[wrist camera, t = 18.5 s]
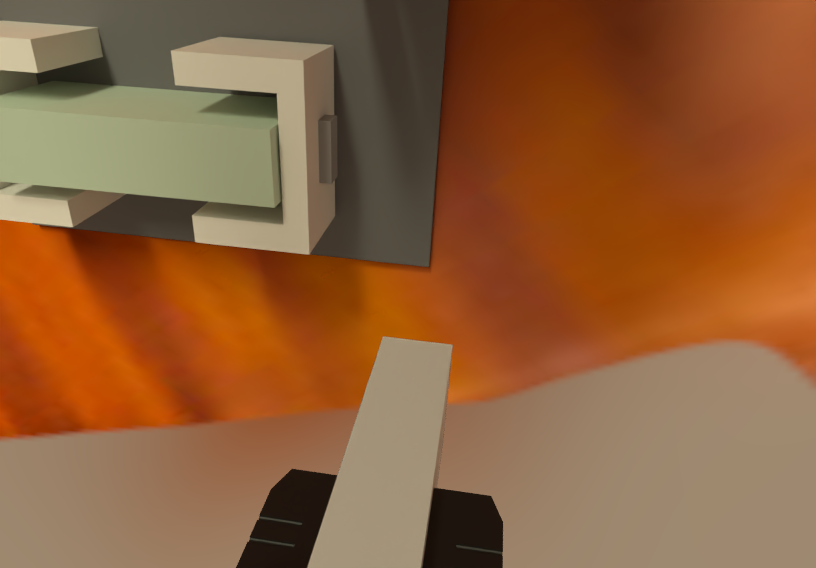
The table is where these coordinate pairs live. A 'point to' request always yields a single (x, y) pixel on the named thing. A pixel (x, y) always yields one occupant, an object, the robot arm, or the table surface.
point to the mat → (278, 21)
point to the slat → (142, 142)
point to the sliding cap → (298, 138)
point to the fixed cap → (16, 69)
